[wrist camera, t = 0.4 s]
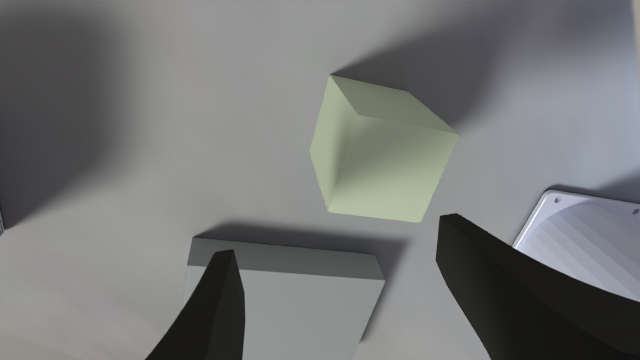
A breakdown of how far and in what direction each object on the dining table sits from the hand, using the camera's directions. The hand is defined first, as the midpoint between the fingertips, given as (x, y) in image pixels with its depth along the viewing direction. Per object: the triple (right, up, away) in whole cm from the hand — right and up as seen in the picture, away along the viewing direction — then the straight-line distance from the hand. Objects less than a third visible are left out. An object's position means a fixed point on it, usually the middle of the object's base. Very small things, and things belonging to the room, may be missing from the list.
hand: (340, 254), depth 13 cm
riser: (-4, -6, +14) cm, 15 cm away
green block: (+1, +6, +8) cm, 10 cm away
